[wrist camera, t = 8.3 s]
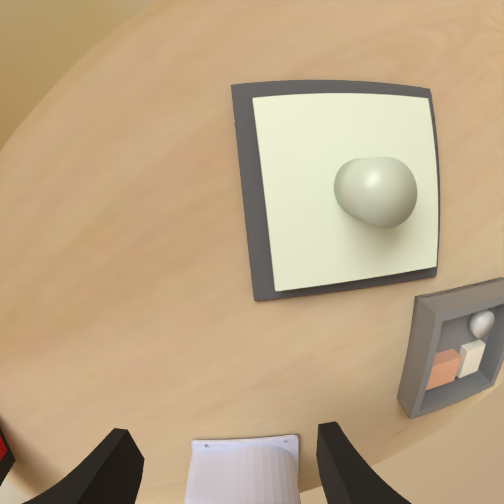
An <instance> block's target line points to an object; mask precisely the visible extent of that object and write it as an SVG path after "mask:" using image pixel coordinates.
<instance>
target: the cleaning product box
mask: <svg viewBox="0 0 504 504" xmlns="http://www.w3.org/2000/svg"><path fill="white" fill-rule="evenodd" d="M15 461H16V460H15V458H14V456H13V454H12V452H11V450H10V448H9V446H8V444H7V442H6V440H5V437H4V435H3V433H2V430H1V428H0V486H1V484H2V482H3V481H4V479H5V477H6V475H7V474H8V472H9V470H10V469H11V467H12V465H13V464H14V462H15Z"/></svg>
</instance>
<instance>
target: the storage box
mask: <svg viewBox="0 0 504 504" xmlns="http://www.w3.org/2000/svg"><path fill="white" fill-rule="evenodd" d="M503 360H504V278H502V277H500V278H496V279H492V280H488V281H484V282H480V283H476V284H472V285H467V286H463V287H458V288H454V289H449V290H445V291H440V292H435V293H430V294H425V295H420V296H415V302H414V311H413V318H412V325H411V331H410V338H409V344H408V349H407V355H406V360H405V365H404V369H403V374H402V379H401V383H400V387H399V391H398V396H397V398H398V400H399V402H400V404H401V405H402V407H403V409H404V411H405V412H406V414H407V416H408V418H409V419H413V418H416V417H419V416H422V415H425V414H428V413H430V412H433V411H436V410H439V409H441V408H444V407H446V406H449V405H451V404H454V403H456V402H459V401H461V400H463V399H466V398H468V397H470V396H473V395H475V394H477V393H479V392H481V391H483V390H485V389H487V388H490V387H492V386H493V385H494V383H495V381H496V378H497V376H498V373H499V370H500V368H501V365H502V362H503Z"/></svg>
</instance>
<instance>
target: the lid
mask: <svg viewBox="0 0 504 504" xmlns="http://www.w3.org/2000/svg"><path fill="white" fill-rule="evenodd" d="M252 101H253V109H254V116H255V124H256V132H257V139H258V147H259V155H260V163H261V172H262V180H263V188H264V196H265V205H266V214H267V222H268V231H269V240H270V249H271V258H272V268H273V277H274V286H275V291H283V290H290V289H298V288H305V287H313V286H320V285H327V284H334V283H341V282H347V281H354V280H360V279H367V278H373V277H379V276H385V275H391V274H397V273H403V272H409V271H414V270H420V269H425V268H431V267H436V263H437V245H438V186H437V168H436V155H435V145H434V136H433V128H432V120H431V113H430V107H429V101H428V98H420V97H410V96H399V95H384V94H360V93H320V94H295V95H280V96H267V97H257V98H253V99H252Z"/></svg>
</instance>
